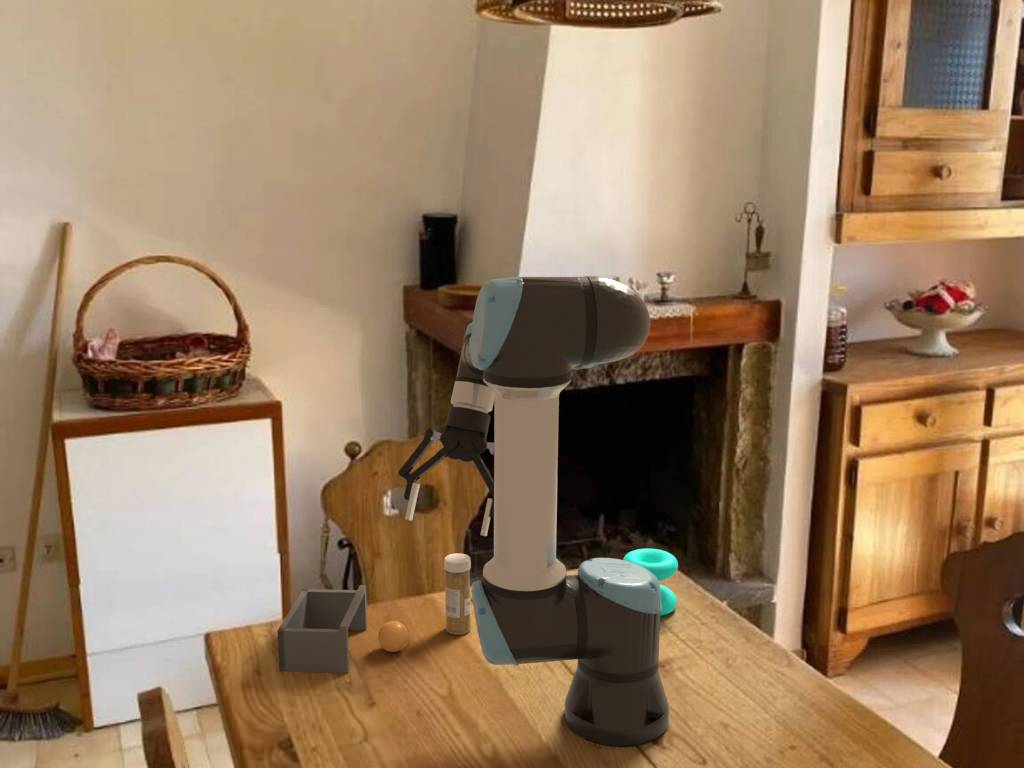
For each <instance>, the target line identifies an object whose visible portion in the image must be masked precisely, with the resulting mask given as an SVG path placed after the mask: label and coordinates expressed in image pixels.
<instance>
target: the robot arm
mask: <svg viewBox="0 0 1024 768" xmlns="http://www.w3.org/2000/svg"><path fill="white" fill-rule="evenodd" d="M650 316H651V314H650V312H649V309H648V307H647V304H646V302H644V300H643V298H642V297H641V296H640V295H639V294H638V293H637V292H636V291H635V290H633V289H632V288H630V287H629V286H628V285H626V284H624V283H622V282H620V281H617V280H615V279H611V278H607V277H603V276H597V275H594V276H593V275H585V276H518V275H517V276H513V277H502V278H494V279H491V280H490V279H489V280H488V281H486V282H485V283H484V284H483V285H482V286H481V288H480V289H479V293H478V294H477V297H476V302H475V307H474V312H473V318H472V322H471V323H470V322H469V323H468V325H467V326H466V331H465V333H464V337H463V339H462V348H461V352H460V356H459V362H458V367H457V371H456V372H457V373H456V376H455V381H454V385H453V390H452V395H451V397H450V403H451V405H453V406H451V407H449V408H448V413H447V418H446V421H445V422H446V423H445V427H444V429H443V432H438V431H435V430H434V429H432V428H427V429H426V431H425V434H424V436H423V439H422V441H421V442H420V443H419V444H418V446H417V447H416V448H415V449H414V451H413V453H412V454H411V455H410V456H409V457H408V458H407V459H406V460H405V462H404V463H403V465H402V466H401V468H400V469H399V470H398V476H399V477H401V478H403V479H405V480H406V486H405V490H404V495H403V498H404V500H405V501H408V503H407V508H406V512H405V513H406V514H405V517H404V520H407V521H413V520H414V519H413V518H414V513H415V511H416V510H415V509H416V505H417V499H418V496H419V495H418V494H419V490H420V486H421V484H419V483H417V481H419V480H420V479H422V478H423V476H425V475H426V474H427V473H429V471H430V472H431V470H432V469H433V468H435V467H436V466H437V465H439V464H440V463H441V462H442V461H444V460H446V459H447V458H449V459H451V460H454V461H462V462H464V463H474V465H475V466H476V468H477V470H478V472H479V474H480V476H481V478H482V479H483V482H484V483H485V485H486V487H487V489H488V490H489V492H490V494H491V496H492V498H489V497H487V501H486V506H485V510H484V515H483V520H482V524H481V525H482V526H481V529H480V530H481V531H480V536H482V537H487V536H488V531H489V526H490V522H491V518H493V556H492V558H491V559H490V560H489V561H488V562H486V563H485V564H484V566H483V568H482V569H483V570H482V580H480V579H478V580H476V581H474V582H473V583H471V597H472V606H473V611H474V618H475V623H476V629H477V633H478V634H477V635H478V639H479V643H480V647H481V652H482V655H483V657H484V658H485V660H486V662H488V664H491V665H495V666H502V665H503V666H506V665H507V666H508V665H513V666H517V667H518V666H519V665H524V664H526V665H527V664H536V663H537V664H538V663H550V662H561V661H563V662H564V661H573V660H577V666H576V670H575V672H574V675H573V678H572V680H571V682H570V686H569V688H568V691H567V694H566V696H565V700H564V719H565V722H566V724H567V725H568V727H569V728H570V729H571V730H572V732H574V733H575V734H577V735H579V736H580V737H581V738H584V739H585V740H588V741H590V742H594V743H598V744H602V745H607V746H612V747H613V746H614V747H629V746H631V747H632V746H638V745H643V744H647V743H649V742H652V741H654V740H656V739H658V738H660V737H661V736H662V735H663V734H664V733H665V732H666V731H667V729H668V727H669V723H670V722H669V721H670V705H669V702H668V699H667V696H666V695H667V694H666V691H665V688H664V685H663V682H662V679H661V676H660V673H659V661H660V660H659V659H660V658H659V656H660V636H661V635H660V632H661V629H660V628H661V616H660V614H661V611H662V605H661V594H660V585H661V583H660V581H658V579H657V578H656V577H655V575H654V574H653V573H651V572H650V571H649V570H647V569H646V568H644V567H642V566H640V565H637V564H635V563H632V562H628V561H625V560H623V559H619V558H613V557H612V558H610V557H594V558H590V559H588V560H585V561H582V563H581V564H579V567H578V569H577V574H571V575H569V574H568V575H567V569H566V566H565V565H564V564H563V563H562V562H561V561H560V560H559V559H558V558H557V524H558V523H557V521H558V520H557V519H558V518H557V516H558V515H557V513H558V510H557V509H558V468H559V467H558V465H559V464H558V463H559V460H558V458H559V415H560V414H559V412H560V409H559V407H560V399H559V398H560V393H561V392H562V391H563V390H564V389H565V388H566V387H567V386H568V385H569V384H570V383H571V381H572V370H573V371H575V370H576V371H577V370H582V369H591V368H593V367H594V366H595V365H604V364H608V363H614V362H617V361H621V360H624V359H627V358H628V357H631V356H633V355H635V354H636V353H637V352H638V351H640V350H641V348H642V347H643V346H644V344H645V342H646V341H647V340H648V337H649V335H650V330H651V317H650ZM493 407H494V422H493V423H494V426H493V429H494V431H493V433H494V437H493V439H494V440H493V441H494V442H488V441H487V436H488V432H489V426H490V422H491V419H492V417H491V416H490V414H489V413H491V412H492V411H493ZM438 440H440V442H441V445H442V448H440V449H439V450H438V451H437V452H436V453H435V454H434V455H433V456H432V457H430V458H429V459H428V460H427V461H426V462H425V461H424V463H423V464H421V465H420V466H419V467H418V468H416V469H415V470H414V471H413V469H414V467H416V465H417V464H418V463H419V462H420V460H421V459H422V458H423V456H424V455H425V454H426V452H427V451H428V450H429V448H430V447H431V445H432V444H434V443H436V442H437V441H438ZM487 449H488V450H489V453H490V455H493V459H494V460H493V465H494V466H493V471H494V472H493V474H494V475H493V476H494V477H492V475H491V474H490V472H489V470H488V468H487V466H486V464H485V463H484V460H483V458H482V457H481V455H482V454H483V453H484V452H485V451H486V450H487ZM412 471H413V472H412ZM411 472H412V473H411Z"/></svg>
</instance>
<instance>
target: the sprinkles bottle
mask: <svg viewBox="0 0 1024 768" xmlns="http://www.w3.org/2000/svg"><path fill="white" fill-rule="evenodd" d="M471 559H472V558H471V557H470V556H469V555H468V554H466V553H465V554H464V553H451V554H448V555H447V556H445V557H444V561H443V566H444V567H443V569H444V572H445V579H444V581H445V584H444V593H445V595H444V596H445V597H444V598H445V599H444V600H445V601H444V603H445V621H446V622H445V623H446V624H445V625H446V626H445V631H446V632H447V633H449V634H450V635H454V636H460V635H465V634H468V633H469V632H470V631H471V630H472V624H471V585H470V584H471V583H470V582H471V579H470V573H471V568H472V566H471V564H472V563H471V562H472V561H471Z"/></svg>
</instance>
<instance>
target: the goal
mask: <svg viewBox="0 0 1024 768" xmlns="http://www.w3.org/2000/svg"><path fill="white" fill-rule="evenodd" d="M367 608H368V607H367V586H366V584H360V585H359V586H358V588H357V590H356V589H318V588H317V589H314V588H313V589H312V588H311V589H310V588H304V589H302V591H301V592H300V594H299V595H298V596H297V598H296V600H295V602H294V603H293V605H292V607H291V608H290V610H289V611H288V613H287V615H286V616H285V618H284V619H283V620H282V622H281V624H280V626H279V627H278V629H277V631H276V634H277V651H278V671H279V672H290V673H291V672H292V673H293V672H294V673H296V672H297V673H329V674H330V673H332V674H333V673H334V674H335V673H337V674H348V673H349V670H350V664H349V663H350V661H349V660H350V659H349V632H348V631H367V629H368V616H367V615H368V613H367V611H368V609H367Z"/></svg>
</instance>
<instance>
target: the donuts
mask: <svg viewBox="0 0 1024 768" xmlns="http://www.w3.org/2000/svg"><path fill="white" fill-rule="evenodd" d="M622 560H625V561H628V562H632V563H635V564H637V565H640V566H642V567H644V568H646V569H647V570H649V571H650V572H651V573H653V574H654V575H655V577H656V578H657V579H658V581H659V582H660V581H665V580H668V579H670V578H672V577H673V576H674V575H675V574H676V573H677V571H678V569H679V563H678V559H677V558H676V557H675V556H674V555H673V554H672V553H670V552H668V551H666V550H662V549H657V548H637V549H635V550H634V549H633V550H632V551H629V552H627V553H626V554H625V556H624V557H623V559H622ZM660 594H661V605H662V611H661V614H660V617H662V616H665V615H668V614H670V613H672V612H673V611H674V610H675V608H676V607H677V596H676V595H675V593H674V592H673V591H672V590H671V589H670V588H668V587H667V586H665V585H662V584H660Z"/></svg>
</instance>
